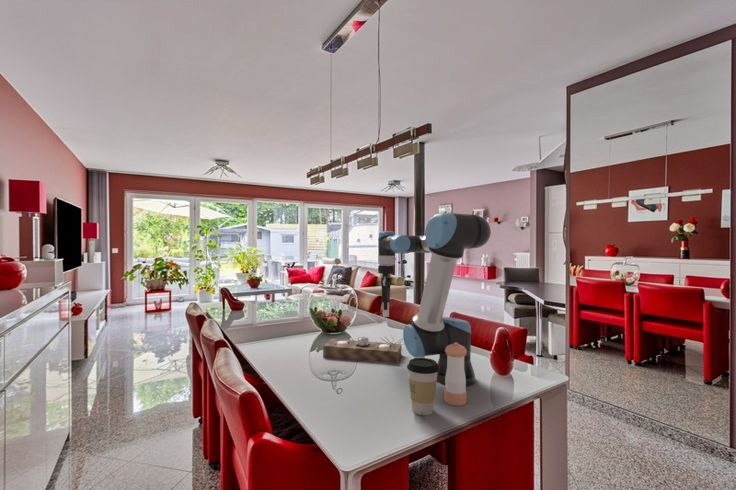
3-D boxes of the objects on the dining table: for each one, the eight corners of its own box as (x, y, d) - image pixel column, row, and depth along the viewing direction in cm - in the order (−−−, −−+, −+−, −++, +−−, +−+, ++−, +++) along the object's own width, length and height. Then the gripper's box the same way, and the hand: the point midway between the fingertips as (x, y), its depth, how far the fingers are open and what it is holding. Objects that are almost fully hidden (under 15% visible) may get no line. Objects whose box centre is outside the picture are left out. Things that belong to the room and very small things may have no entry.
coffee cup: (417, 400, 118) (417, 355, 118) (444, 409, 111) (444, 361, 112) (400, 411, 110) (400, 362, 110) (428, 421, 104) (429, 369, 104)
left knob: (348, 351, 170) (348, 341, 170) (345, 355, 165) (345, 344, 165) (338, 351, 171) (338, 340, 171) (335, 354, 166) (335, 343, 166)
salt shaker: (467, 406, 114) (468, 346, 114) (443, 404, 115) (444, 344, 116) (465, 397, 121) (466, 340, 121) (443, 395, 123) (444, 339, 123)
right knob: (390, 355, 165) (390, 344, 165) (388, 358, 160) (388, 347, 160) (379, 354, 166) (379, 343, 166) (377, 357, 161) (377, 346, 161)
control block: (401, 354, 168) (401, 344, 168) (397, 363, 155) (397, 351, 155) (332, 349, 176) (332, 338, 176) (323, 356, 163) (323, 345, 163)
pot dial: (369, 348, 167) (369, 336, 167) (366, 351, 163) (367, 339, 163) (359, 347, 168) (359, 335, 169) (356, 350, 164) (356, 338, 164)
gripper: (392, 265, 157) (391, 319, 156) (396, 264, 169) (395, 314, 169) (375, 265, 158) (374, 318, 158) (380, 264, 171) (380, 313, 171)
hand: (385, 316), depth 164 cm, fingers closed
